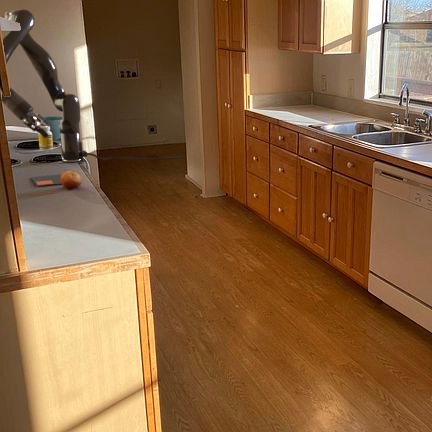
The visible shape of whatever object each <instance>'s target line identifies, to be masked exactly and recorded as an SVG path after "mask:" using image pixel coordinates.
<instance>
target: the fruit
mask: <svg viewBox="0 0 432 432" xmlns="http://www.w3.org/2000/svg"><path fill="white" fill-rule="evenodd" d="M61 175H62V176H61V183H62V184H61V185H62V187H61V188H62V189H63V188H65V189H68V190H74V189H77V188H80V186H81V185H82V177H81V175H80V174H79V173H77V172H75V171H71V170H67V171H65V172H63V173H62V174H61Z"/></svg>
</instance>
